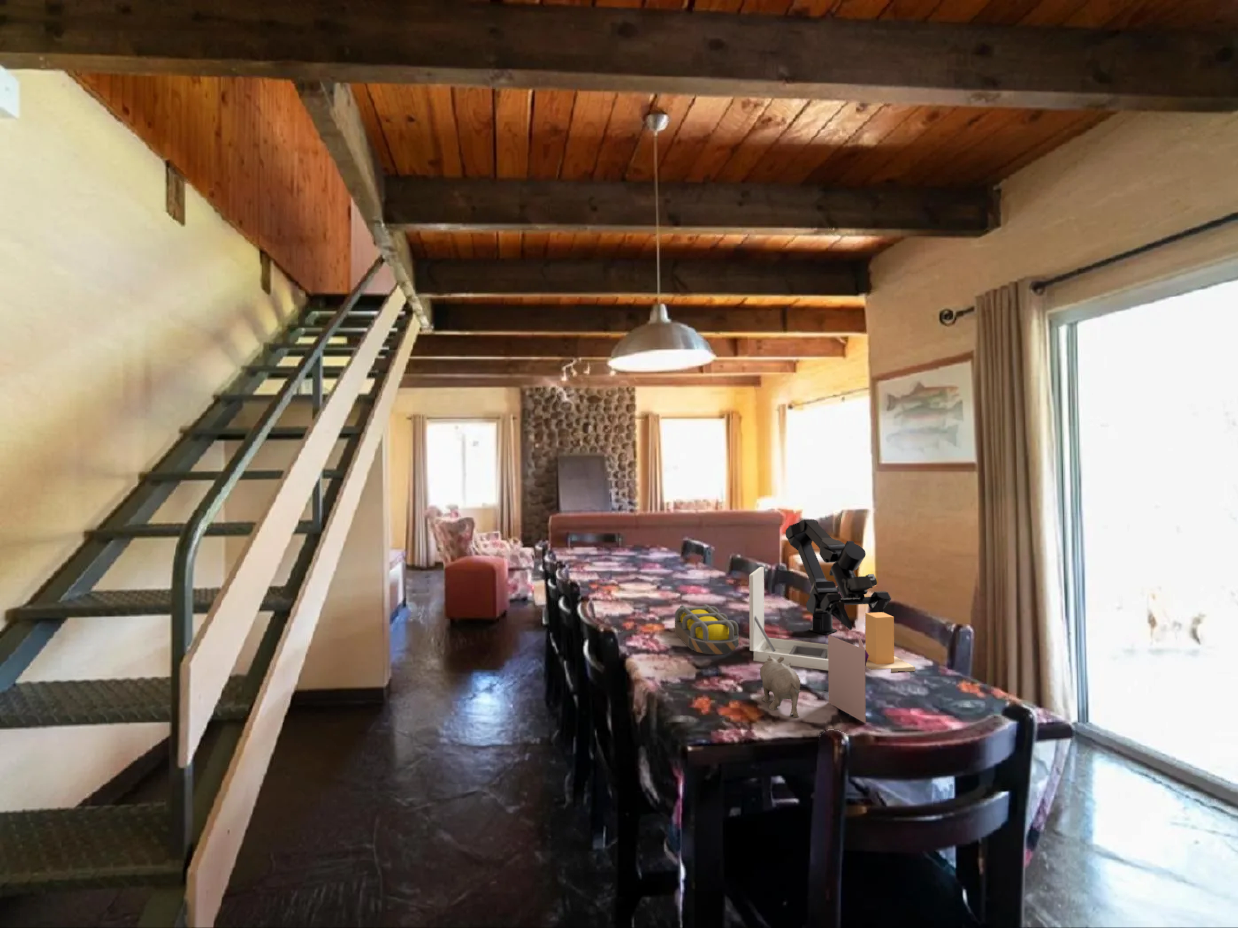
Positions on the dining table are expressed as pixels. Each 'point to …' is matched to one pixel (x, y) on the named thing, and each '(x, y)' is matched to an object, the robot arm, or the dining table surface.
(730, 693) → the dining table surface
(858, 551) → the robot arm
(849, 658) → the greeting card
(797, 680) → the rhinoceros figurine
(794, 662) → the equipment case
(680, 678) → the dining table surface
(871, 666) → the wooden board
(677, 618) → the cage light
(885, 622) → the block
